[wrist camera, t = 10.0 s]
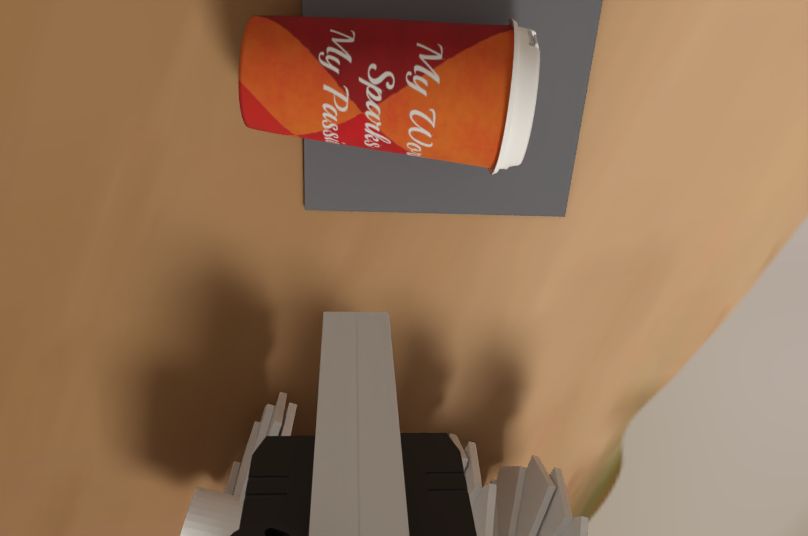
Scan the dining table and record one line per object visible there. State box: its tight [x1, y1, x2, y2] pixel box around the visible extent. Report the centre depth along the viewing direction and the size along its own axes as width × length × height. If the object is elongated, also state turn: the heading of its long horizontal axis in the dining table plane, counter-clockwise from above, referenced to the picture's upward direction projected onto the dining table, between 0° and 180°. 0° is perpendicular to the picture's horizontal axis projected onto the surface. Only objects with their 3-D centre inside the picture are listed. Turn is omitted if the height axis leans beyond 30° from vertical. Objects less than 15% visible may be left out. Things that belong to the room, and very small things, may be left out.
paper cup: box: [239, 16, 540, 174], centre depth 36 cm, size 8×8×14 cm
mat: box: [302, 0, 603, 217], centre depth 39 cm, size 16×18×1 cm
